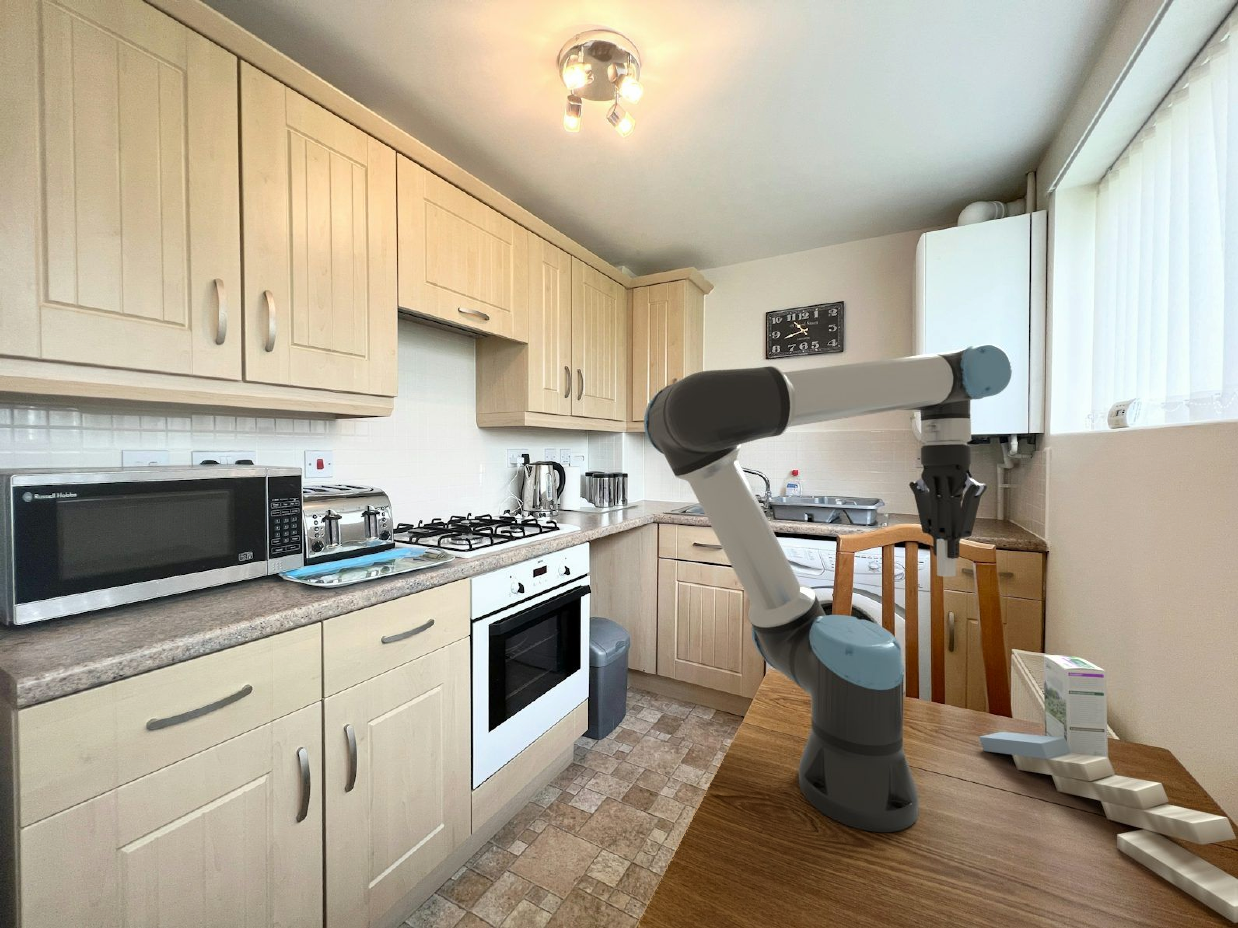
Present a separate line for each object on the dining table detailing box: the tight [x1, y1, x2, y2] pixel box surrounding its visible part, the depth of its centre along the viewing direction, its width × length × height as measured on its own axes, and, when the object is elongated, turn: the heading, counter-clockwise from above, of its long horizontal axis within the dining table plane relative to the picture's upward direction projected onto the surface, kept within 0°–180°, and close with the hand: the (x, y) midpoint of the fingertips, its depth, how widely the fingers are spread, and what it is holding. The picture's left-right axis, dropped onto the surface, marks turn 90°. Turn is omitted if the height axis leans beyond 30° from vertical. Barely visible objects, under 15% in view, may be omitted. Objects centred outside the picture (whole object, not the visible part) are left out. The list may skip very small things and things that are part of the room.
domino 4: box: [1100, 800, 1237, 845], centre depth 61 cm, size 2×5×10 cm
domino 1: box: [978, 731, 1071, 759], centre depth 77 cm, size 2×5×10 cm
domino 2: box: [1011, 753, 1116, 781], centre depth 72 cm, size 2×5×10 cm
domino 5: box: [1116, 828, 1238, 924], centre depth 55 cm, size 2×5×10 cm
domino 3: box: [1051, 774, 1170, 810], centre depth 67 cm, size 2×5×10 cm
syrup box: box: [1043, 654, 1109, 759], centre depth 80 cm, size 6×6×14 cm
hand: (946, 575), depth 89 cm, fingers closed
